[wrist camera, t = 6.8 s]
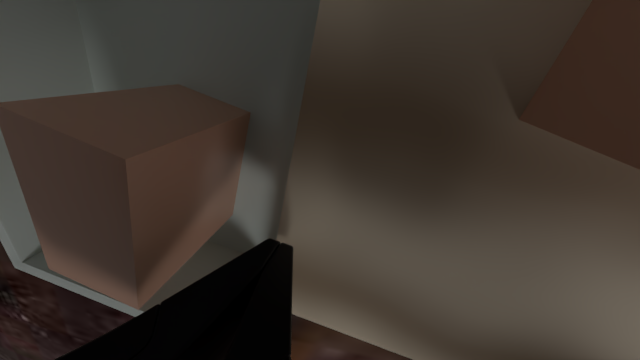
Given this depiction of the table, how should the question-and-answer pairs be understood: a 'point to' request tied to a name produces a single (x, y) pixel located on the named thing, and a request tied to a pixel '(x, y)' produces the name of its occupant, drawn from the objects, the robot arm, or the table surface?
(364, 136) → the beige flat panel
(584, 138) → the tile
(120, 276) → the tile
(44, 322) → the table surface
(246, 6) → the tray
